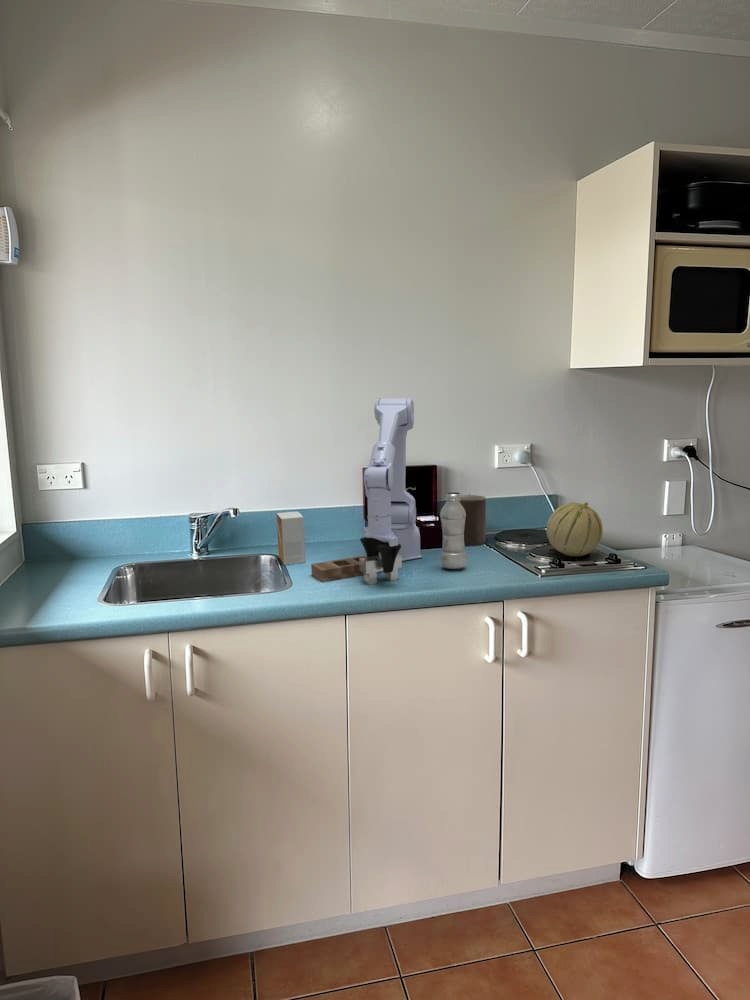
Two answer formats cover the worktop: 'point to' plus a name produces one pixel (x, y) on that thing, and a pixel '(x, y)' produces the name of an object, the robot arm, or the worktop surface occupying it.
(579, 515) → the cantaloupe
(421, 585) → the worktop surface
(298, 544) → the small box
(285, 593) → the worktop surface
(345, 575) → the walnut rail
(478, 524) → the pillar candle
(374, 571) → the pale wooden bridge block
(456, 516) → the plastic bottle
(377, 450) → the robot arm
